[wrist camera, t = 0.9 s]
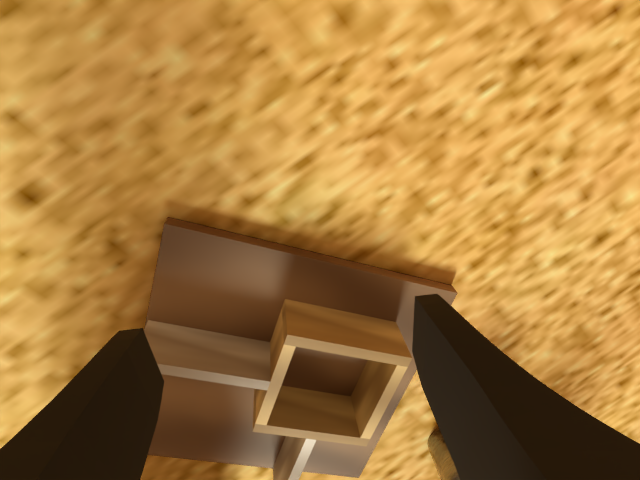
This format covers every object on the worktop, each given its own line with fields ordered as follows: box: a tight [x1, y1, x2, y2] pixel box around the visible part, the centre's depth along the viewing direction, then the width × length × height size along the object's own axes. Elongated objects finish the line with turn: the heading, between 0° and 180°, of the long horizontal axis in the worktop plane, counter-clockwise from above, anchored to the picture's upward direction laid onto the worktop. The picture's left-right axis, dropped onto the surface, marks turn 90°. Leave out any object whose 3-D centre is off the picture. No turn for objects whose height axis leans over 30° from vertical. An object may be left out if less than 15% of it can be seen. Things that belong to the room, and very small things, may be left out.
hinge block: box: [144, 217, 457, 480], centre depth 23 cm, size 16×16×4 cm
